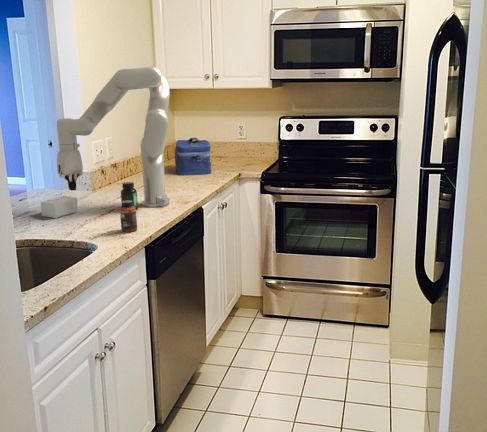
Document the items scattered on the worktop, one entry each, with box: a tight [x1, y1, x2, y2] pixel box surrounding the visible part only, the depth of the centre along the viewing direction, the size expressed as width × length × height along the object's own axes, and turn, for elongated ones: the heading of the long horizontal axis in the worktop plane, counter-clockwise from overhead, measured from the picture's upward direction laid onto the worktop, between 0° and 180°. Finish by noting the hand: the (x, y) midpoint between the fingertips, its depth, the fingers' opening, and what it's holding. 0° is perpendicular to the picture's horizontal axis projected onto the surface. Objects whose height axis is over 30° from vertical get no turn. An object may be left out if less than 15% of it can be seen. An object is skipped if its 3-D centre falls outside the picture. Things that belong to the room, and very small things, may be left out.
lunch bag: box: [174, 137, 212, 177], centre depth 333 cm, size 31×21×20 cm
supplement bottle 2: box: [119, 200, 138, 233], centre depth 210 cm, size 6×6×11 cm
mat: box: [28, 212, 75, 221], centre depth 238 cm, size 12×14×1 cm
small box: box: [40, 195, 79, 219], centre depth 238 cm, size 8×6×13 cm
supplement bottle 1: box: [120, 181, 139, 211], centre depth 242 cm, size 7×7×12 cm
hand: (72, 189), depth 243 cm, fingers closed
